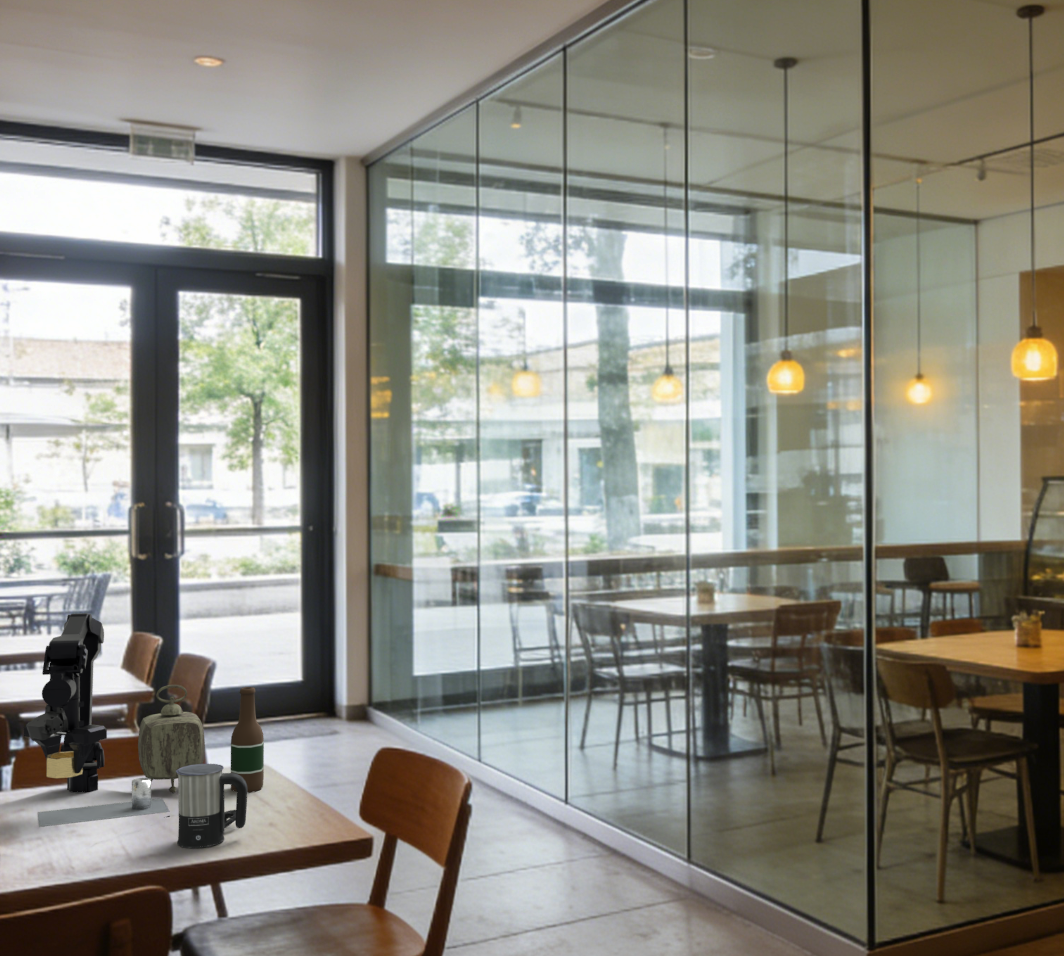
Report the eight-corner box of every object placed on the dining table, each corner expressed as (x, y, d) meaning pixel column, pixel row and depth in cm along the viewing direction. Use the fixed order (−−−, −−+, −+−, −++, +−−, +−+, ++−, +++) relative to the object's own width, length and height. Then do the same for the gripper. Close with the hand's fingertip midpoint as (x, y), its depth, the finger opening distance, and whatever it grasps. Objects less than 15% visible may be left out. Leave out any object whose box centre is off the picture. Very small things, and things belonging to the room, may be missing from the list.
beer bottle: (270, 786, 269) (270, 686, 270) (252, 794, 262) (252, 691, 262) (242, 783, 272) (242, 684, 272) (223, 791, 265) (224, 689, 265)
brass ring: (39, 775, 238) (39, 757, 239) (65, 768, 245) (65, 750, 245) (63, 779, 236) (63, 760, 236) (89, 771, 242) (89, 753, 242)
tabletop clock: (200, 783, 272) (201, 680, 273) (205, 792, 264) (206, 686, 264) (137, 789, 266) (138, 684, 267) (141, 799, 258) (141, 690, 259)
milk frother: (180, 852, 220) (180, 776, 220) (166, 830, 234) (167, 759, 234) (253, 841, 226) (253, 768, 227) (235, 821, 240) (235, 752, 241)
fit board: (39, 832, 232) (39, 797, 233) (37, 817, 243) (37, 784, 243) (169, 817, 244) (169, 783, 244) (162, 803, 254) (162, 771, 255)
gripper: (2, 701, 237) (2, 775, 237) (67, 708, 229) (67, 784, 229) (45, 693, 247) (44, 764, 247) (108, 699, 239) (108, 772, 239)
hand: (64, 771), depth 240 cm, fingers closed on brass ring, 7 cm apart
